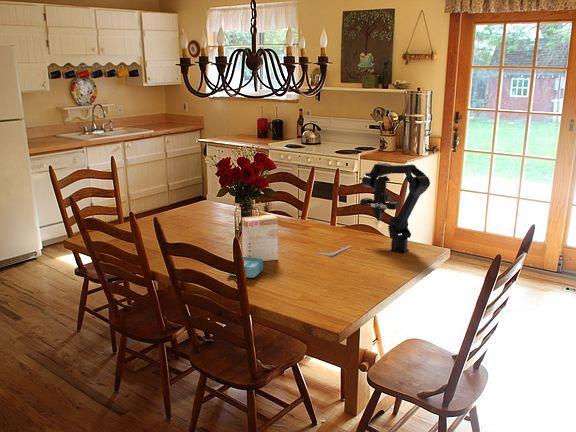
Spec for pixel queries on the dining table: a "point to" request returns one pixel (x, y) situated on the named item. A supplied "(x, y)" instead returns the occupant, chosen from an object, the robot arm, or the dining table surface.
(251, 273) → the data package
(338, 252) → the grey boomerang
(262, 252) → the coffeecake box
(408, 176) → the robot arm
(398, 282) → the dining table surface
